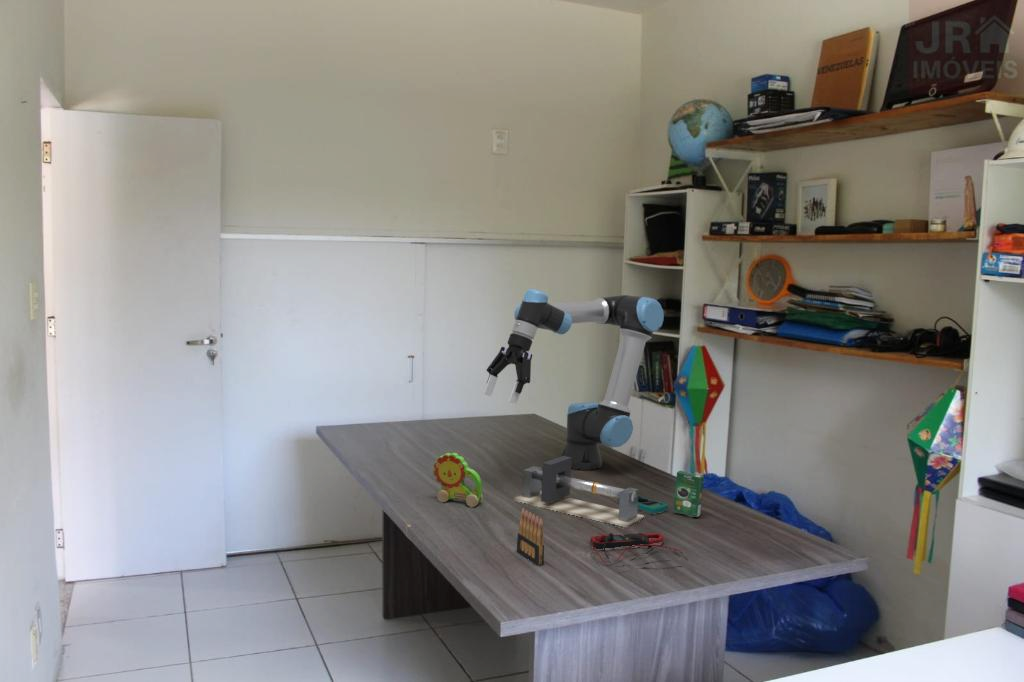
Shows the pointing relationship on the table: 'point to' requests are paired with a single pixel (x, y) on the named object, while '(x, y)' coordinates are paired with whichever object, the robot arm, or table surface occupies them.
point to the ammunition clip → (531, 538)
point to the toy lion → (456, 479)
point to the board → (579, 509)
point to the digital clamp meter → (625, 541)
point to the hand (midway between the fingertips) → (499, 398)
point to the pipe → (626, 496)
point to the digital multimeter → (650, 505)
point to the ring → (549, 477)
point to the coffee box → (688, 493)
